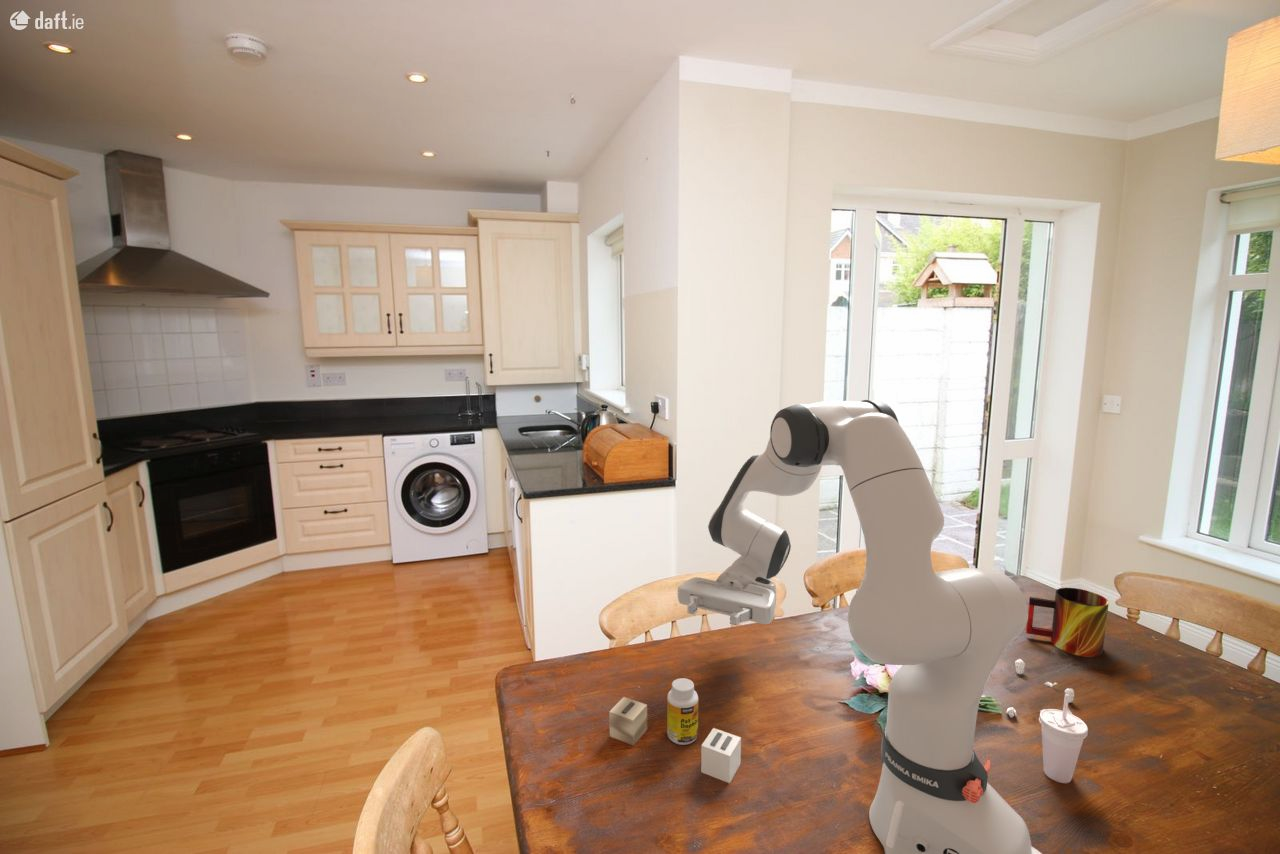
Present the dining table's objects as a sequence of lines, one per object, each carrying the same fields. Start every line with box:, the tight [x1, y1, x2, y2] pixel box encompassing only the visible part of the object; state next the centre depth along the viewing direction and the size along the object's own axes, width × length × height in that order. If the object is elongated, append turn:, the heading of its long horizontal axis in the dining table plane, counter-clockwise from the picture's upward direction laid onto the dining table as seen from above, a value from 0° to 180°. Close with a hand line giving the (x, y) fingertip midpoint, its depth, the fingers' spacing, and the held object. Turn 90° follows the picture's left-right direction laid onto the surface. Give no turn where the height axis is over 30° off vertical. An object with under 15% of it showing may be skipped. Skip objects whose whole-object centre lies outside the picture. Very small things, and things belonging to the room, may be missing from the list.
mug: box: [1025, 587, 1109, 658], centre depth 134 cm, size 10×14×12 cm
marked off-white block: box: [700, 727, 742, 784], centre depth 98 cm, size 5×5×5 cm
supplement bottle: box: [666, 677, 699, 746], centre depth 105 cm, size 6×6×10 cm
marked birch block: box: [608, 696, 648, 747], centre depth 107 cm, size 5×5×5 cm
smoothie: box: [1038, 693, 1089, 784], centre depth 95 cm, size 6×6×14 cm
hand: (711, 616), depth 114 cm, fingers open, 8 cm apart
